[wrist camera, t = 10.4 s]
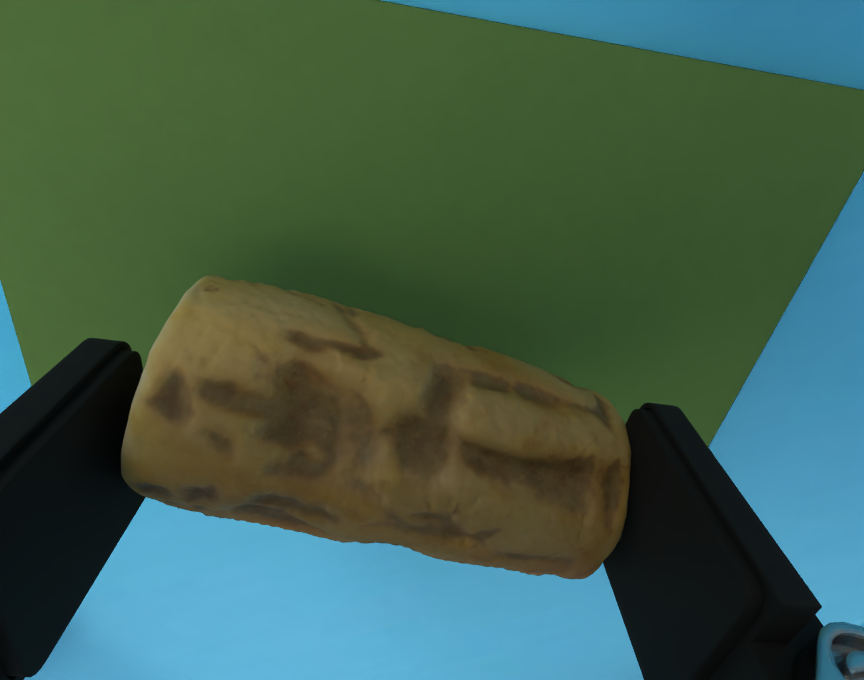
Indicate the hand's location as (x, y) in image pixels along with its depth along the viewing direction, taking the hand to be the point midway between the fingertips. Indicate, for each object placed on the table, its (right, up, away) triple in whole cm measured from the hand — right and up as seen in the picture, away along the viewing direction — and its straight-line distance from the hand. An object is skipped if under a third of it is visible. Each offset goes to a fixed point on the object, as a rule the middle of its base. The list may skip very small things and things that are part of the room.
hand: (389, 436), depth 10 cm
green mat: (0, +2, +4) cm, 5 cm away
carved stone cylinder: (0, +1, +2) cm, 2 cm away
